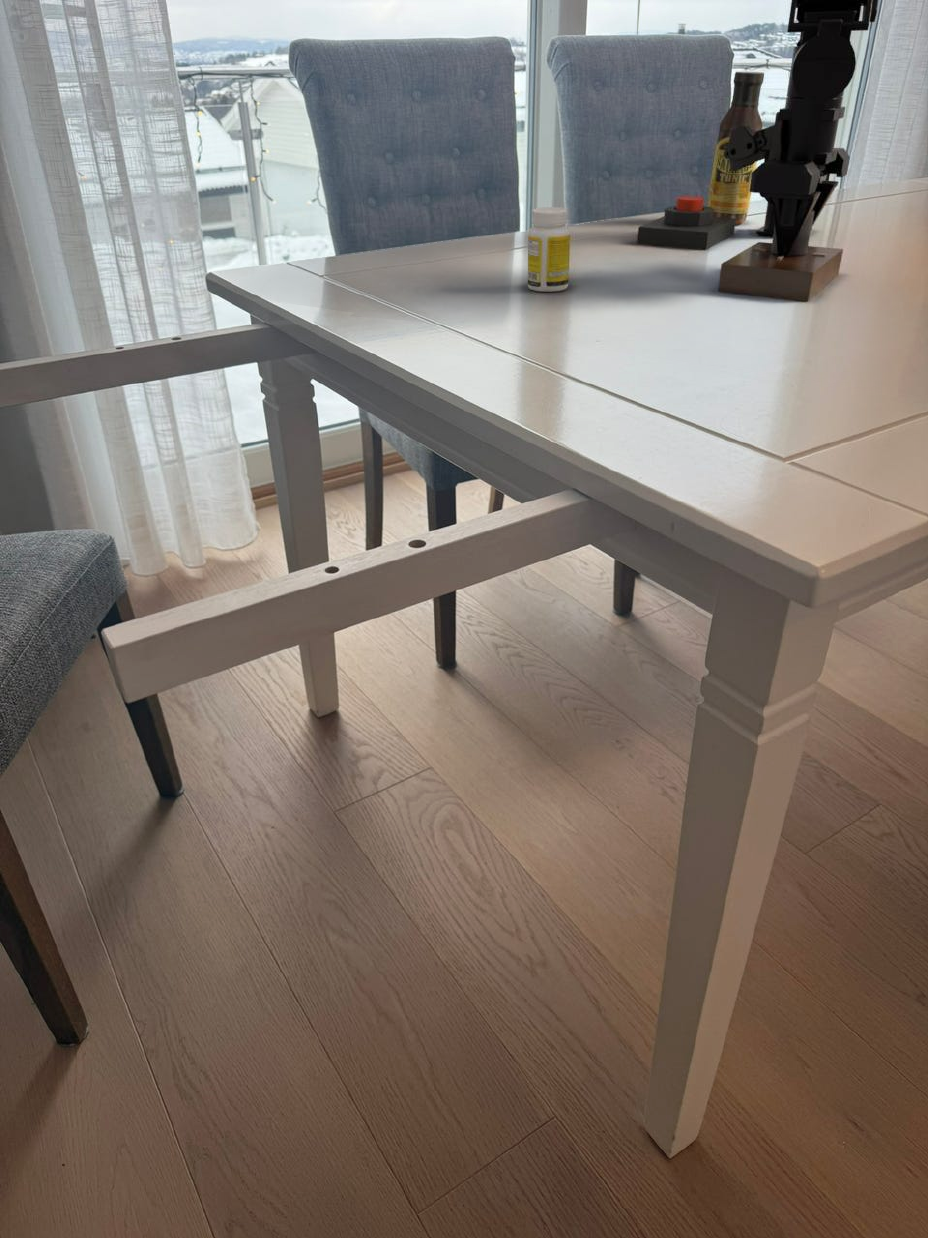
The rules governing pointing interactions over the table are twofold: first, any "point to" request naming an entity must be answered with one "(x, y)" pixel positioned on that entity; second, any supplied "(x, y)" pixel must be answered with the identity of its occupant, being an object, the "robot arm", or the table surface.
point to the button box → (686, 229)
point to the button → (689, 203)
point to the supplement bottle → (548, 250)
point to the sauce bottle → (725, 186)
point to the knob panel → (780, 272)
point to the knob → (798, 239)
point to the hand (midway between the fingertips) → (788, 252)
